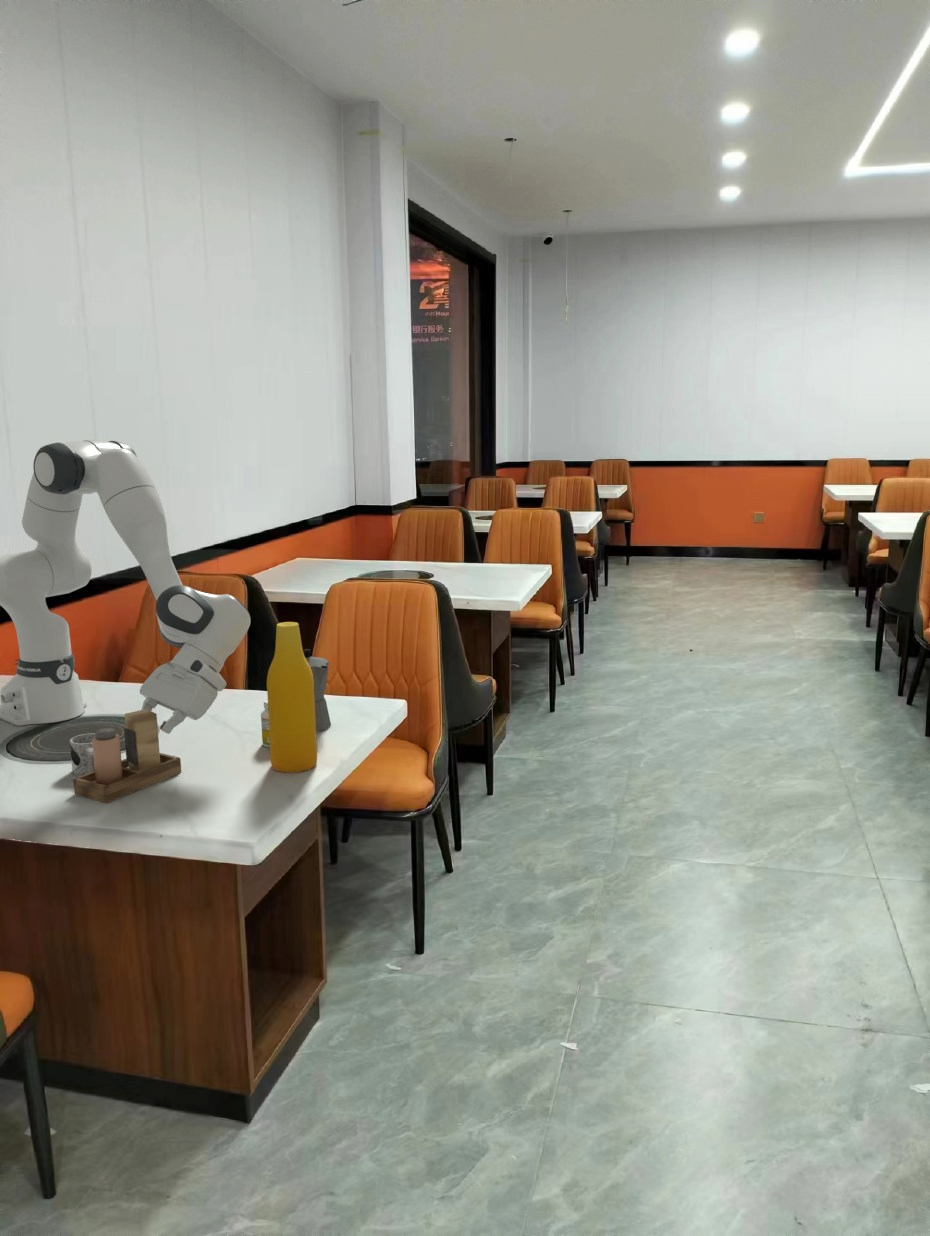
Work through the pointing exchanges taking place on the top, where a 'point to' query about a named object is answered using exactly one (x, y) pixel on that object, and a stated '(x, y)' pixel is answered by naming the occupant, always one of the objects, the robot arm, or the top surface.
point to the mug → (82, 754)
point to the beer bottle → (291, 704)
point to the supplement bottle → (265, 725)
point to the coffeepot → (319, 689)
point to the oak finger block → (141, 740)
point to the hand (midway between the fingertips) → (152, 726)
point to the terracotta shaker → (107, 756)
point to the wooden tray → (126, 780)
